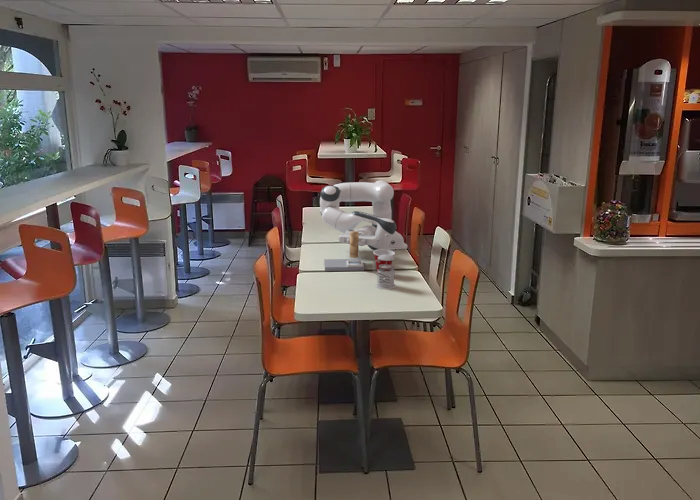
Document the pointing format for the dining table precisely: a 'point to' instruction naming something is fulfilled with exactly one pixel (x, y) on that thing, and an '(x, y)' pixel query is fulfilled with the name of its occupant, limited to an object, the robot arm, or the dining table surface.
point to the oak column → (354, 244)
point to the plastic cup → (377, 254)
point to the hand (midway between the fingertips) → (353, 242)
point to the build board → (343, 265)
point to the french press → (387, 282)
